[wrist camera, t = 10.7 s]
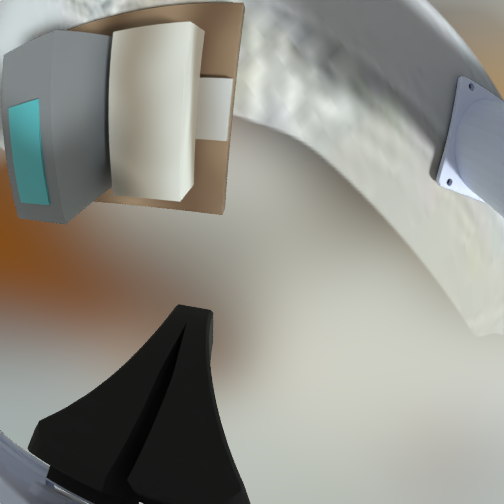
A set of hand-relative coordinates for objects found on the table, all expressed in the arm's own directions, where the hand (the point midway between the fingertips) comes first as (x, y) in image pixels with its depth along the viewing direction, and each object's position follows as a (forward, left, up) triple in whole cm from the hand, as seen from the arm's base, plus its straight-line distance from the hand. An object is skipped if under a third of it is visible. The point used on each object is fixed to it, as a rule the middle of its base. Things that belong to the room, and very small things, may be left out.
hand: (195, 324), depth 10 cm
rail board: (+9, -7, -9) cm, 15 cm away
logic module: (+9, -7, -8) cm, 14 cm away
